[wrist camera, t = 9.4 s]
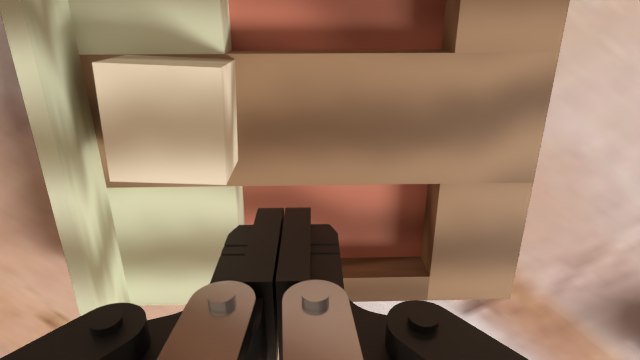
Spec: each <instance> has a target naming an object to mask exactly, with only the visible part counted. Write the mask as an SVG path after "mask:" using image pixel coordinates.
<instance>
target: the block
mask: <svg viewBox="0 0 640 360" xmlns="http://www.w3.org/2000/svg"><path fill="white" fill-rule="evenodd" d="M92 66H93V73H94V80H95V86H96V93H97V99H98V106H99V113H100V119H101V126H102V132H103V139H104V146H105V152H106V159H107V166H108V172H109V179H110V182H142V183H175V184H208V185H226V184H227V182H228V180H229V178H230V176H231V174H232V172H233V170H234V168H235V166H236V164H237V162H238V141H237V107H236V74H235V59H216V58H192V57H169V56H145V55H123V56H118V57H114V58H109V59H105V60H100V61H96V62H92Z"/></svg>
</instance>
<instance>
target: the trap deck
mask: <svg viewBox="0 0 640 360" xmlns="http://www.w3.org/2000/svg"><path fill="white" fill-rule="evenodd" d="M569 1H570V0H0V12H1V16H2V20H3V24H4V28H5V31H6V35H7V39H8V43H9V47H10V50H11V54H12V58H13V62H14V66H15V69H16V73H17V77H18V81H19V85H20V88H21V92H22V96H23V100H24V104H25V107H26V111H27V115H28V119H29V123H30V126H31V130H32V134H33V138H34V142H35V146H36V149H37V153H38V157H39V161H40V165H41V168H42V172H43V176H44V180H45V184H46V187H47V191H48V195H49V199H50V203H51V206H52V210H53V214H54V218H55V222H56V225H57V229H58V233H59V237H60V241H61V244H62V248H63V252H64V256H65V260H66V263H67V267H68V271H69V275H70V279H71V282H72V286H73V290H74V294H75V298H76V301H77V305H78V309H79V313H80V316H82V315H84V314H86V313H88V312H89V311H92V310H94V309H96V308H98V307H101V306H104V305H108V304H113V303H132V304H135V305H138V306H144V305H187V303H188V301H189V299H190V298H191V296H192V295H193V294H194V293H195V292H196V291H197V290H199V289H200V288H202V287H204V286H206V285H208V284H210V282H211V279H212V276H213V274H214V271H215V268H216V266H217V263H218V260H219V258H220V256H221V252H222V250H223V247H224V244H225V242H226V239H227V236H228V234H229V233H230V232H231V231H233V230H234V229H235V228H236V227H237V226H238V225H253V224H254V220H255V217H256V213H257V210H258V208H284V214H285V208H290V207H311V224H330V225H331V226H332V227H333V228H334V230H335V231H336V232H337V233H338V239H339V248H340V256H341V265H342V274H343V283H344V290H345V292H346V293H347V296H348V298H349V299H350V300H351V301H352V302H360V301H412V300H467V299H510V297H511V292H512V287H513V282H514V277H515V272H516V267H517V262H518V257H519V252H520V247H521V242H522V237H523V232H524V227H525V222H526V217H527V212H528V207H529V202H530V197H531V192H532V187H533V182H534V177H535V172H536V167H537V162H538V157H539V152H540V147H541V142H542V137H543V132H544V127H545V122H546V117H547V112H548V107H549V102H550V97H551V92H552V87H553V82H554V77H555V72H556V67H557V62H558V57H559V52H560V47H561V42H562V37H563V32H564V27H565V22H566V17H567V12H568V6H569ZM123 55H145V56H169V57H192V58H216V59H235V74H236V107H237V141H238V162H237V164H236V166H235V168H234V170H233V172H232V174H231V176H230V178H229V180H228V182H227V184H226V185H208V184H175V183H142V182H110V179H109V172H108V166H107V159H106V152H105V146H104V139H103V132H102V126H101V119H100V113H99V106H98V99H97V93H96V86H95V80H94V73H93V66H92V62H96V61H100V60H105V59H109V58H114V57H118V56H123Z"/></svg>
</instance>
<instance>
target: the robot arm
mask: <svg viewBox="0 0 640 360" xmlns="http://www.w3.org/2000/svg"><path fill="white" fill-rule="evenodd" d="M278 348H279V360H528V359H527V358H525V357H523V356H522V355H520V354H518V353H517V352H515V351H513V350H512V349H510V348H509V347H507V346H505V345H504V344H502V343H500V342H499V341H497V340H495V339H494V338H492V337H490V336H489V335H487V334H486V333H484V332H482V331H481V330H479V329H477V328H476V327H474V326H472V325H471V324H469V323H468V322H466V321H464V320H463V319H461V318H459V317H458V316H456V315H454V314H453V313H451V312H449V311H448V310H446V309H445V308H443V307H441V306H439V305H436V304H434V303H430V302H426V301H418V300H412V301H405V302H402V303H399V304H397V305H395V306H394V307H393V308H391V310H390V311H389V313H388V315H383V314H378V313H374V312H370V311H367V310H365V309H362V308H360V307H358V306H357V305H355V304H354V303H353V302H352V301H351V300H350V299H349V298H348V296H347V293H346V292H345V290H344V283H343V274H342V265H341V256H340V248H339V239H338V233H337V232H336V231H335V230H334V228H333V227H332V226H331V225H330V224H311V207H290V208H285V214H284V208H258V210H257V213H256V217H255V220H254V224H253V225H238V226H237V227H236V228H235V229H234V230H233V231H231V232H230V233H229V234H228V236H227V239H226V242H225V244H224V247H223V250H222V252H221V256H220V258H219V260H218V263H217V266H216V268H215V271H214V274H213V276H212V279H211V282H210V284H208V285H206V286H204V287H202V288H200V289H199V290H197V291H196V292H195V293H194V294H193V295H192V296H191V298H190V299H189V301H188V303H187V305H186V306H185V308H184V310H183V311H182V312H179V313H176V314H173V315H169V316H164V317H160V318H156V319H151V320H147V319H146V314H145V312H144V310H143V309H142V308H141V307H140V306H138V305H135V304H132V303H113V304H108V305H104V306H101V307H98V308H96V309H94V310H92V311H89V312H88V313H86V314H84V315H82V316H80V317H78V318H76V319H74V320H72V321H71V322H69V323H67V324H65V325H63V326H61V327H59V328H57V329H55V330H53V331H52V332H50V333H48V334H46V335H44V336H42V337H40V338H38V339H36V340H35V341H33V342H31V343H29V344H27V345H25V346H23V347H21V348H19V349H18V350H16V351H14V352H12V353H10V354H8V355H6V356H4V357H2V358H0V360H277V358H278Z"/></svg>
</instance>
